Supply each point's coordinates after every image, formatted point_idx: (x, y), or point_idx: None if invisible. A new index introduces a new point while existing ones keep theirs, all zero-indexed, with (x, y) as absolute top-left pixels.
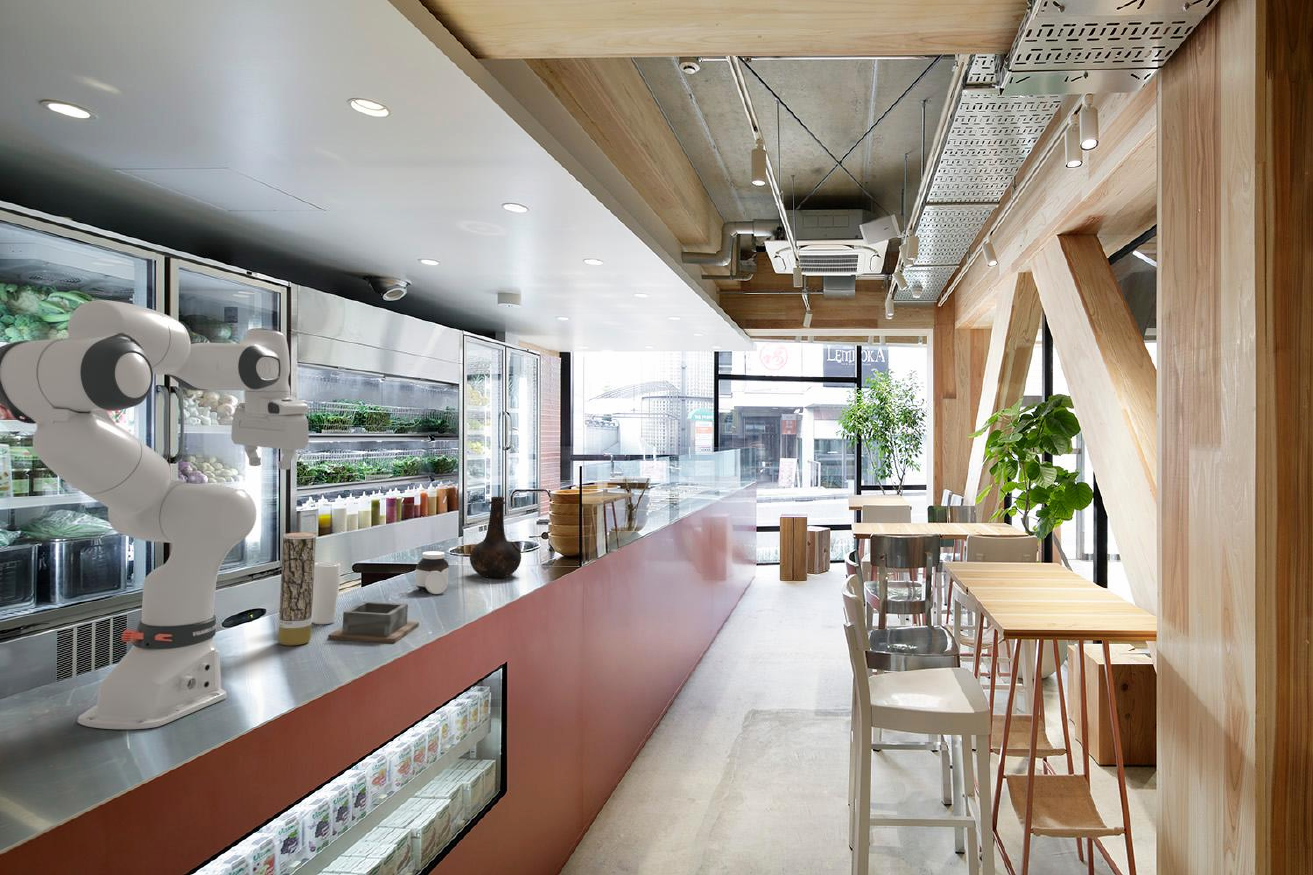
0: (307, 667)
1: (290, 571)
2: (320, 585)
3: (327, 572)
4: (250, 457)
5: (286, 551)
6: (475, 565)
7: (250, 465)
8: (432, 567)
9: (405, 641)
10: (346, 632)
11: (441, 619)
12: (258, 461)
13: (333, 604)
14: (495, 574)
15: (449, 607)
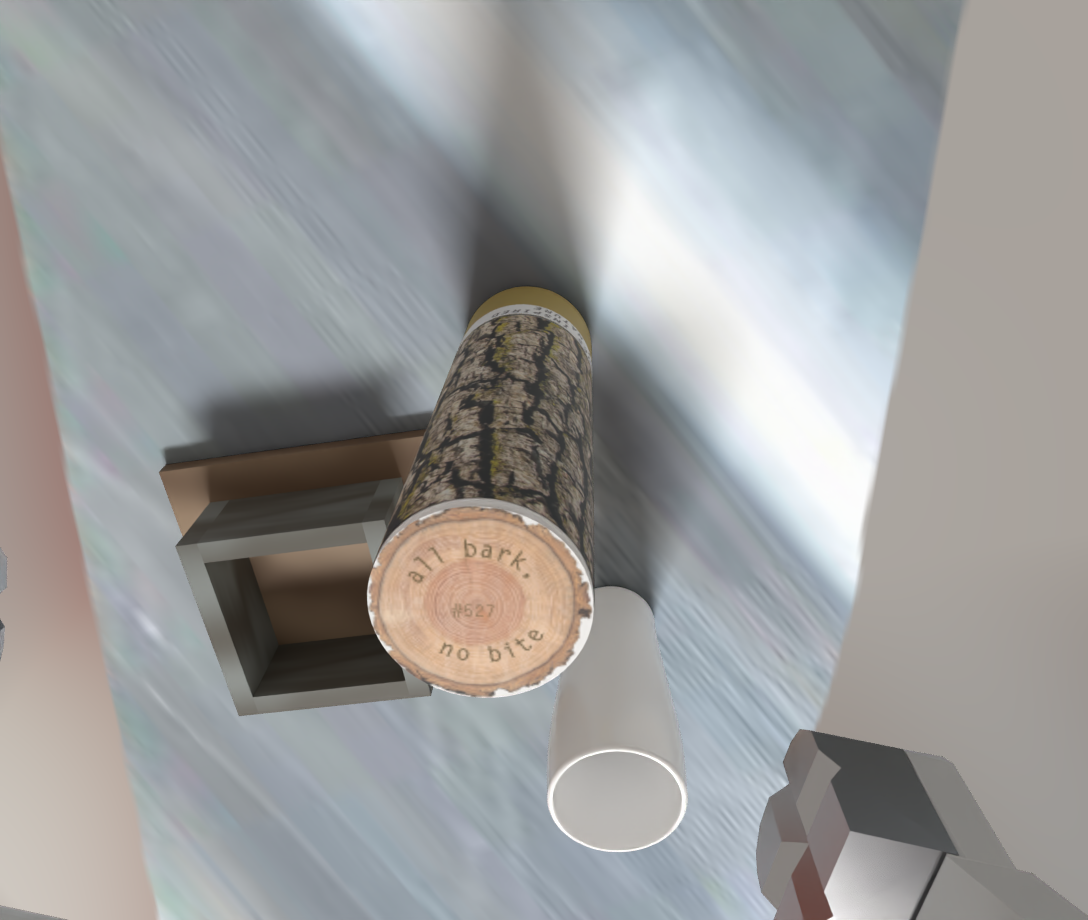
0: (234, 57)
1: (484, 404)
2: (599, 681)
3: (572, 735)
4: (962, 866)
5: (509, 455)
6: None
7: (918, 755)
8: None
9: (147, 497)
10: (384, 481)
11: (231, 779)
12: (794, 882)
13: None
14: None
15: (312, 914)
